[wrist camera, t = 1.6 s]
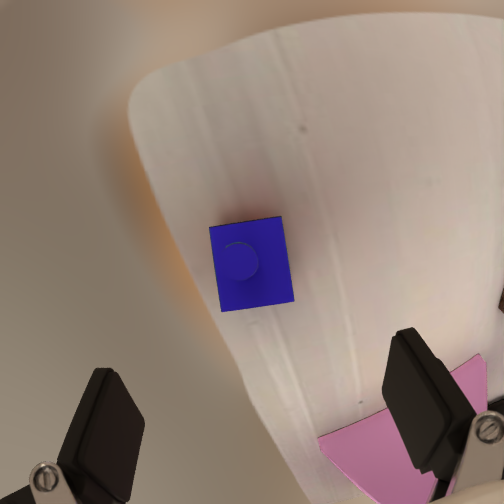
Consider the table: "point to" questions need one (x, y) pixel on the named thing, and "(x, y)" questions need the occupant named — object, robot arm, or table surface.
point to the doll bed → (502, 303)
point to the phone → (497, 407)
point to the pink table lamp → (394, 447)
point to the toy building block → (251, 264)
